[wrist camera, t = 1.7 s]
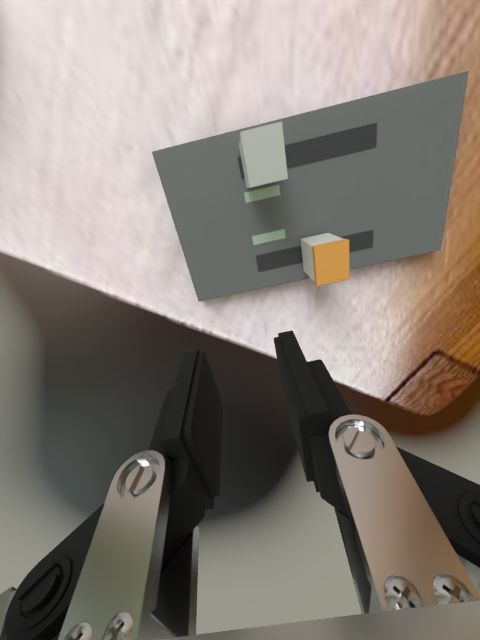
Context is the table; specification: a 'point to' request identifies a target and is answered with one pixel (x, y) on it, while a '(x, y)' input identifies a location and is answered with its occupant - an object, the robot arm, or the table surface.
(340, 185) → the grey slotted panel
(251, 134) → the breaker
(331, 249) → the block
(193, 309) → the table surface
